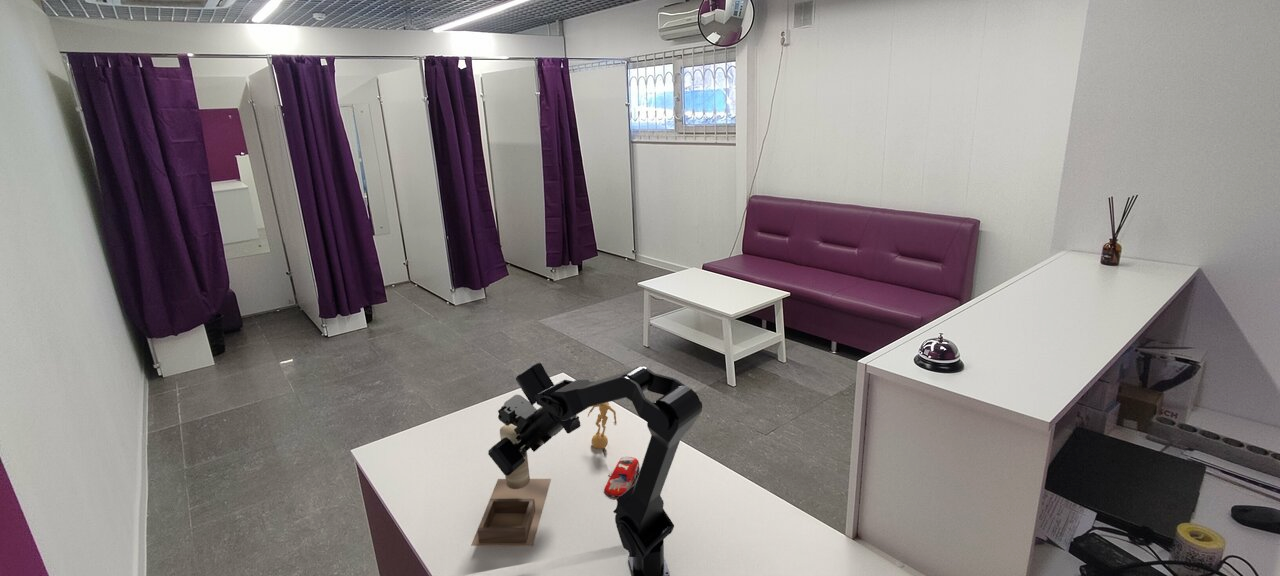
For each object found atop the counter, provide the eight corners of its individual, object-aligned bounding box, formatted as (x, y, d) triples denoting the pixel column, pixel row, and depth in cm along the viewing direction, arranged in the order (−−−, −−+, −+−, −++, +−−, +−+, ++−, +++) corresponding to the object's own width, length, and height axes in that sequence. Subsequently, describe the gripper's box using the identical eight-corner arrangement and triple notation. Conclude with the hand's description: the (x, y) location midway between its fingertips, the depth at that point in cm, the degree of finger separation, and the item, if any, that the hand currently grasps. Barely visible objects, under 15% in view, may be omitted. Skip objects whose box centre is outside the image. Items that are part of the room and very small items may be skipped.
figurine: (581, 447, 144) (578, 405, 140) (595, 435, 148) (592, 393, 144) (609, 457, 140) (607, 413, 136) (623, 444, 144) (621, 402, 140)
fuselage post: (530, 486, 123) (524, 433, 119) (506, 490, 122) (499, 437, 118) (529, 472, 128) (523, 421, 124) (506, 476, 127) (499, 424, 123)
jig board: (533, 550, 112) (531, 532, 111) (471, 550, 113) (469, 532, 111) (551, 483, 131) (550, 467, 130) (498, 483, 132) (496, 467, 130)
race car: (624, 506, 124) (623, 490, 122) (600, 501, 125) (599, 486, 124) (643, 468, 136) (642, 454, 134) (621, 464, 137) (620, 450, 136)
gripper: (550, 370, 123) (514, 404, 132) (490, 412, 108) (454, 448, 117) (583, 410, 122) (545, 442, 131) (527, 459, 107) (488, 492, 116)
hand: (509, 454), depth 124 cm, fingers closed on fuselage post, 5 cm apart
